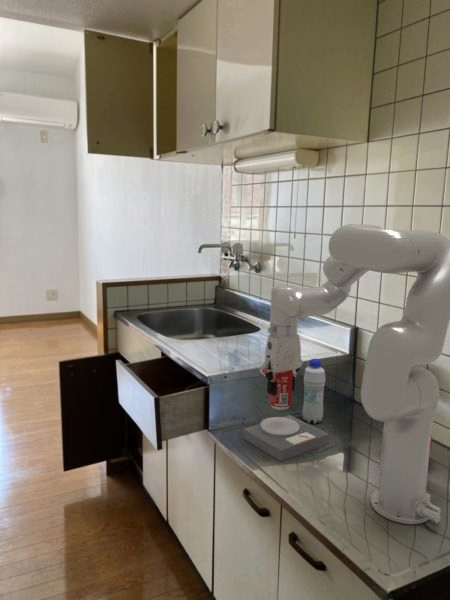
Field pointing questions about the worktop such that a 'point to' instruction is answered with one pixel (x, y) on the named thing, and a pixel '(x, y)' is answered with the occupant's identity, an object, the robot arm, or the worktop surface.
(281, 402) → the beverage can
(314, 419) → the bottle
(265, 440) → the scale
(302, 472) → the worktop surface
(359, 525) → the worktop surface
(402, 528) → the worktop surface
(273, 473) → the worktop surface
